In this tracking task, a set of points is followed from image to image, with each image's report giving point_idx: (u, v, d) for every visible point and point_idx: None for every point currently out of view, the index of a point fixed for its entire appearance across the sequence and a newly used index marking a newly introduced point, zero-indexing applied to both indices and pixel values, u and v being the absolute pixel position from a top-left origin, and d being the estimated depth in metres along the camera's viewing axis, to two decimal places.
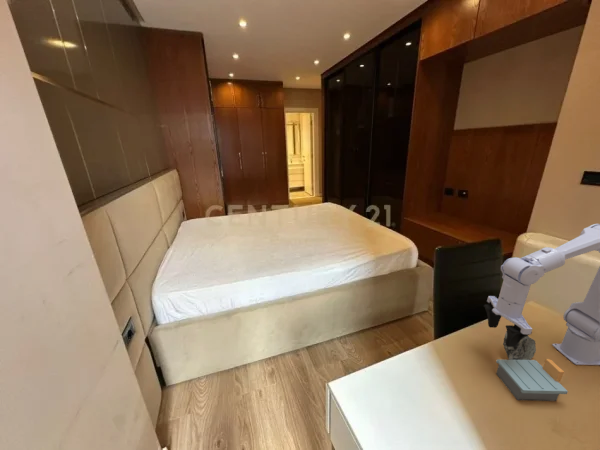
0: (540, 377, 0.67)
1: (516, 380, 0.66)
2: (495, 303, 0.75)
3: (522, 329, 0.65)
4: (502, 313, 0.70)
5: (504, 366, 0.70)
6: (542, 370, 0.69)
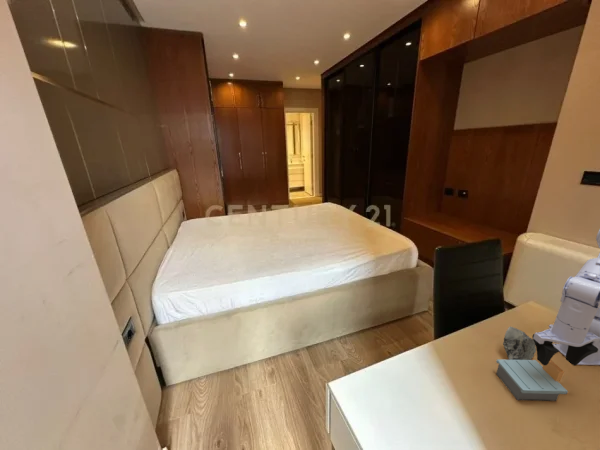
0: (540, 377, 0.67)
1: (516, 380, 0.66)
2: None
3: None
4: (552, 327, 0.66)
5: (504, 366, 0.70)
6: (542, 370, 0.69)
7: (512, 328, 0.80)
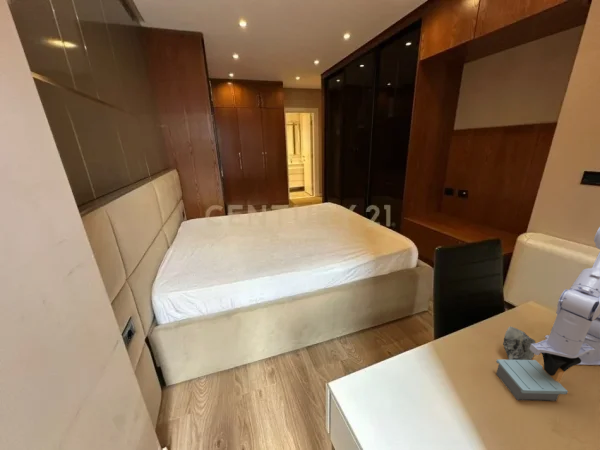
0: (540, 377, 0.67)
1: (516, 380, 0.66)
2: None
3: None
4: (548, 338, 0.67)
5: (504, 366, 0.70)
6: (542, 370, 0.69)
7: (512, 328, 0.80)
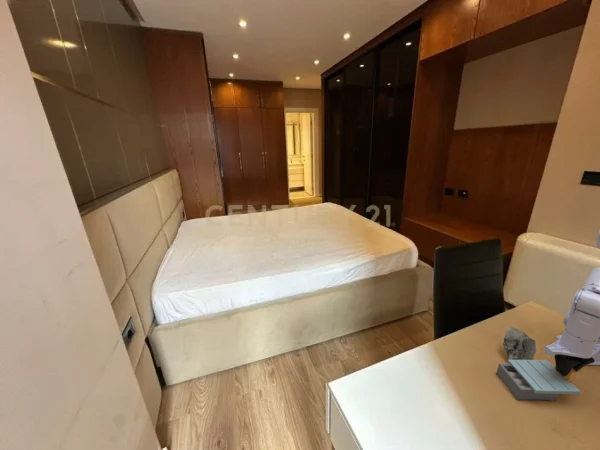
0: (553, 378, 0.67)
1: (528, 380, 0.66)
2: None
3: None
4: (560, 339, 0.67)
5: (516, 366, 0.70)
6: (554, 370, 0.69)
7: (512, 328, 0.80)
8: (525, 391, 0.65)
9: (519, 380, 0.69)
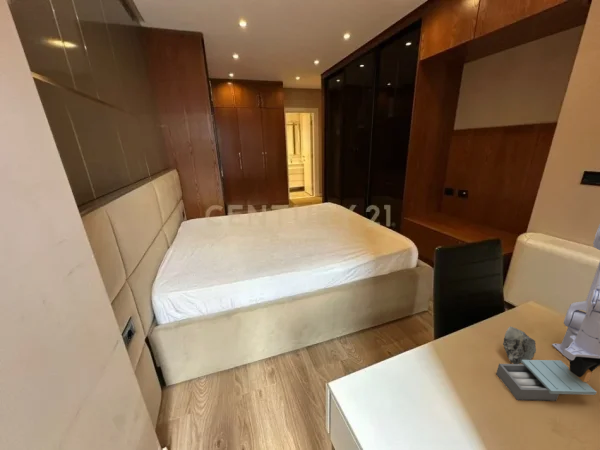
0: (567, 378, 0.66)
1: (543, 381, 0.66)
2: None
3: None
4: (574, 340, 0.66)
5: (530, 366, 0.70)
6: (568, 370, 0.68)
7: (512, 328, 0.80)
8: (525, 391, 0.65)
9: (519, 380, 0.69)
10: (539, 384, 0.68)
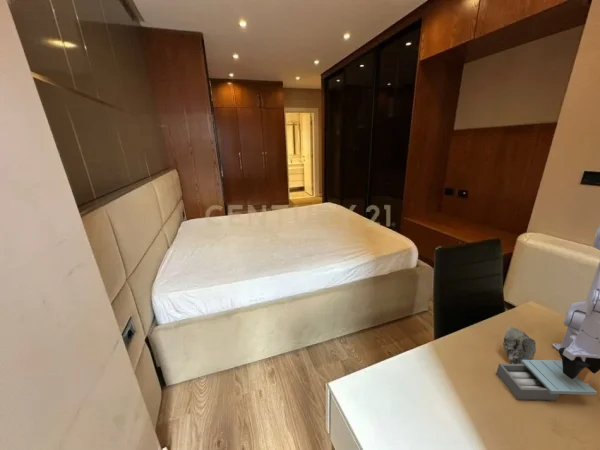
0: (568, 378, 0.66)
1: (543, 381, 0.66)
2: None
3: None
4: (574, 340, 0.66)
5: (530, 366, 0.70)
6: None
7: (512, 328, 0.80)
8: (525, 391, 0.65)
9: (519, 380, 0.69)
10: (539, 384, 0.68)
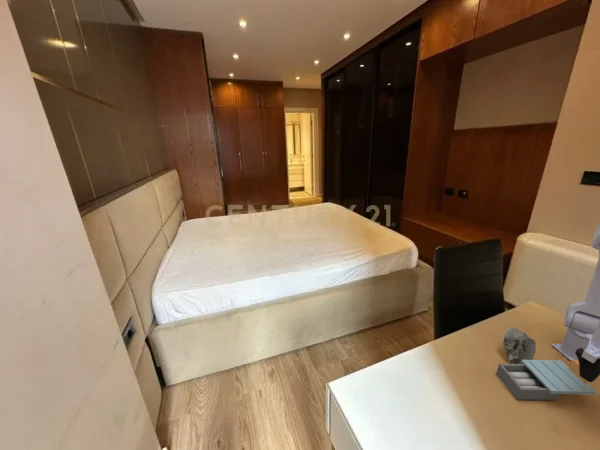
0: (568, 378, 0.66)
1: (543, 381, 0.66)
2: None
3: None
4: (591, 339, 0.60)
5: (530, 366, 0.70)
6: (568, 370, 0.68)
7: (512, 328, 0.80)
8: (525, 391, 0.65)
9: (519, 380, 0.69)
10: (539, 384, 0.68)
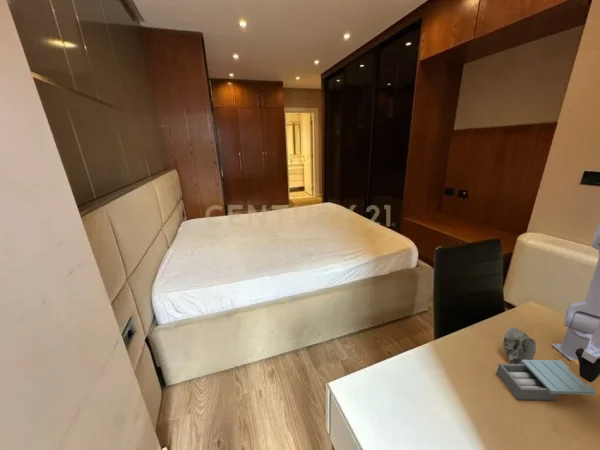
0: (568, 378, 0.66)
1: (543, 381, 0.66)
2: None
3: None
4: (591, 339, 0.60)
5: (530, 366, 0.70)
6: (568, 370, 0.68)
7: (512, 328, 0.80)
8: (525, 391, 0.65)
9: (519, 380, 0.69)
10: (539, 384, 0.68)
